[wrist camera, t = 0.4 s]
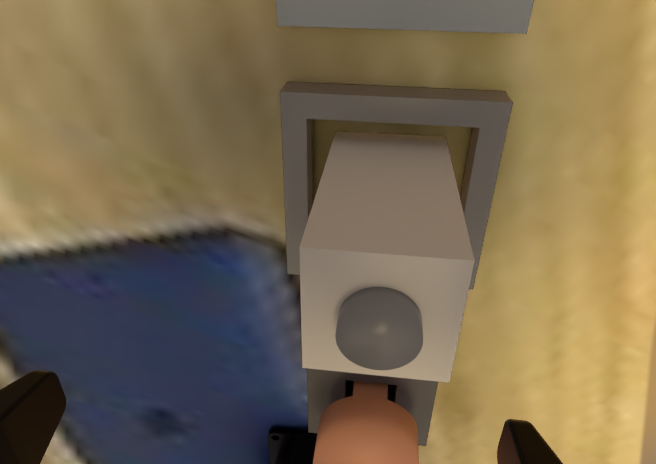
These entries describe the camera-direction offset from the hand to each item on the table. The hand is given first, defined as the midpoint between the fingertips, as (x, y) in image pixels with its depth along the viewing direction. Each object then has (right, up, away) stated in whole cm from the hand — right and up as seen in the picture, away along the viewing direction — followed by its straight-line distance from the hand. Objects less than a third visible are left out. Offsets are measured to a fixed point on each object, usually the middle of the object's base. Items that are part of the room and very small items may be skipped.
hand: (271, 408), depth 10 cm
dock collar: (+4, +6, +12) cm, 14 cm away
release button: (+3, -4, +14) cm, 15 cm away
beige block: (+4, +6, +12) cm, 14 cm away
